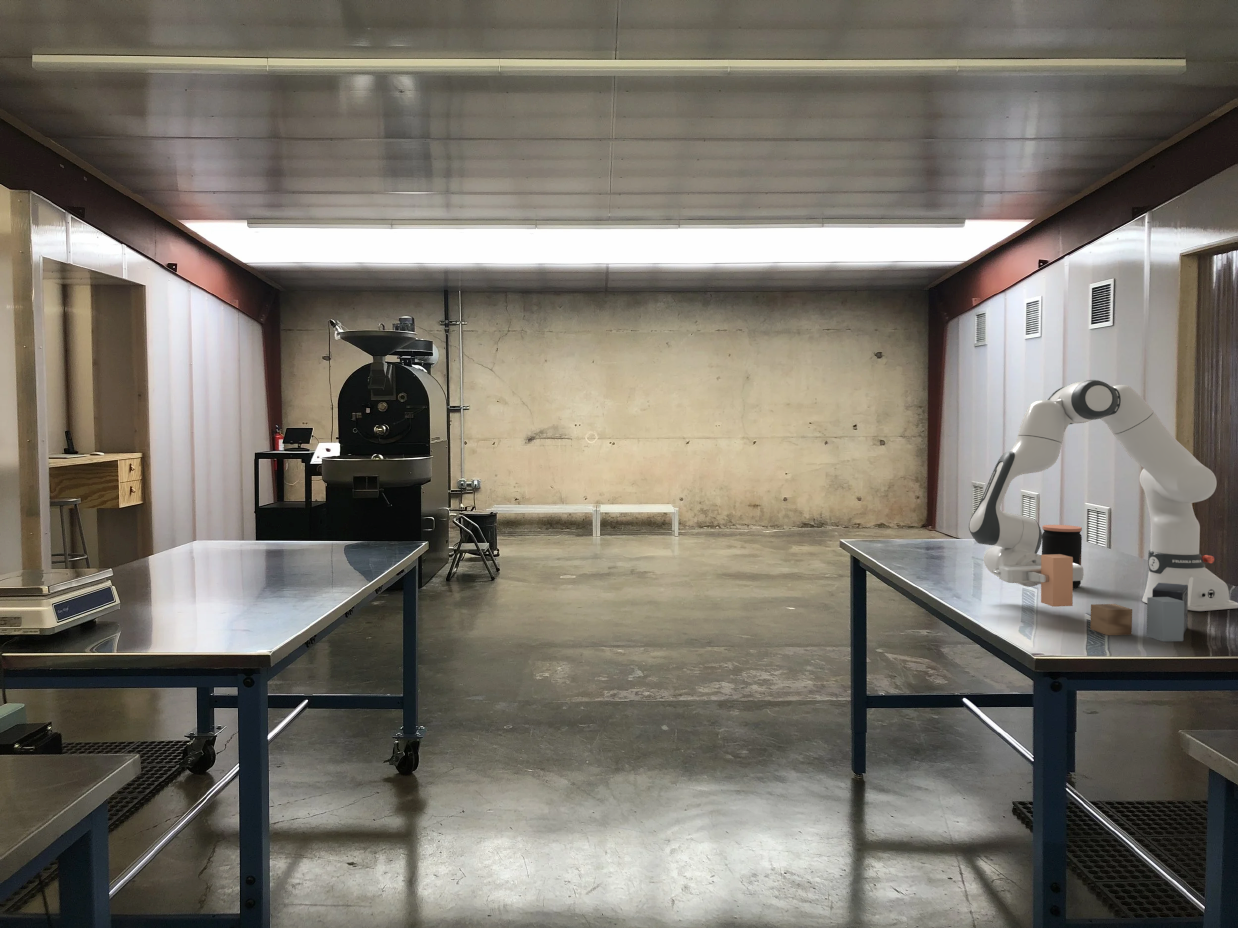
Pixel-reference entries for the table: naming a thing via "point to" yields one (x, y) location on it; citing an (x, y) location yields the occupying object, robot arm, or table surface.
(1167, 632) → the slate block
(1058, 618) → the table surface
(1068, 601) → the terracotta block
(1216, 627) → the table surface
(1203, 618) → the table surface
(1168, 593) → the small box
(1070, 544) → the coffee jar
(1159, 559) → the robot arm
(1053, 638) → the table surface
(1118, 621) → the walnut block
